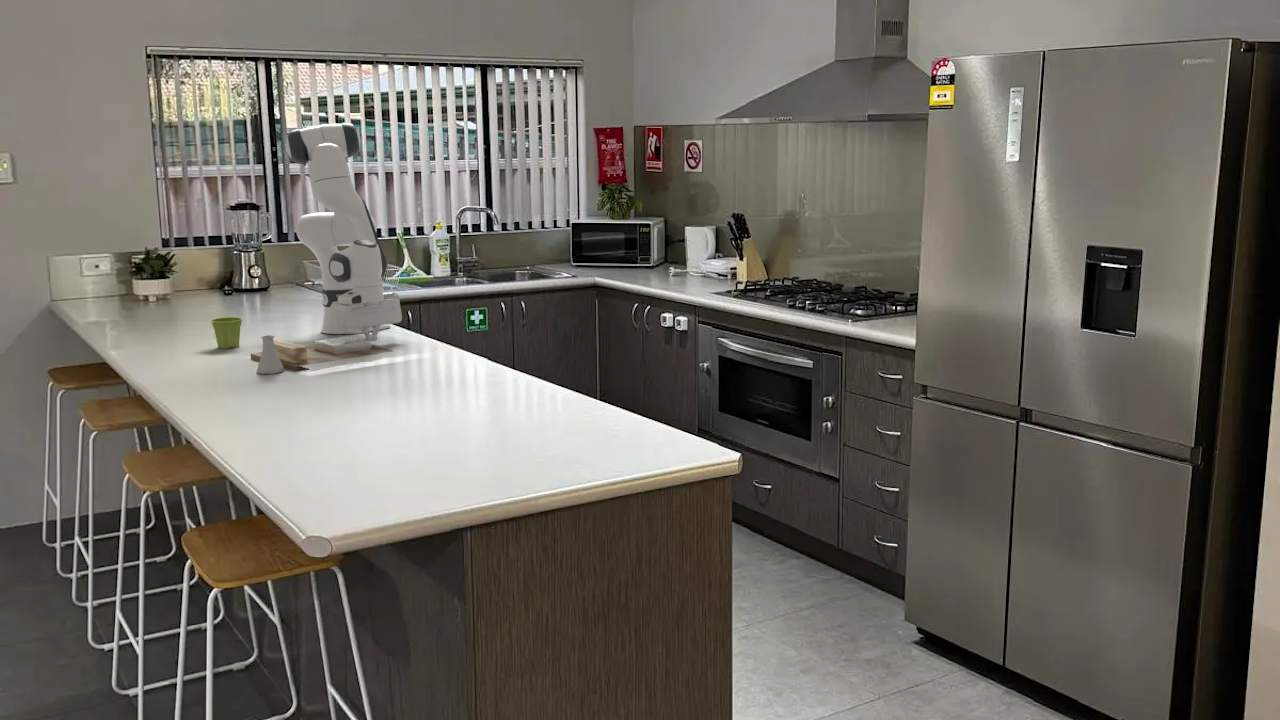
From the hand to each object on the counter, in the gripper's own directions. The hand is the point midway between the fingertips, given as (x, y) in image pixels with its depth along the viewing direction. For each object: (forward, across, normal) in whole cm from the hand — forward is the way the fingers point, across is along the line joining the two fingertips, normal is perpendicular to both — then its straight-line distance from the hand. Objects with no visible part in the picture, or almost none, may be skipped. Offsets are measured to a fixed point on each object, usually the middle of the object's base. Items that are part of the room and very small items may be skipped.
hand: (371, 341), depth 345 cm
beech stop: (+1, +28, 0) cm, 28 cm away
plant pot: (+3, +27, -38) cm, 47 cm away
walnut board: (+3, +16, 0) cm, 16 cm away
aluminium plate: (+1, +10, 0) cm, 10 cm away
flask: (+3, +36, +9) cm, 38 cm away
